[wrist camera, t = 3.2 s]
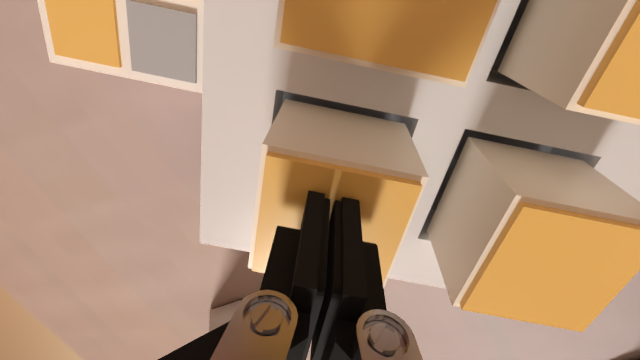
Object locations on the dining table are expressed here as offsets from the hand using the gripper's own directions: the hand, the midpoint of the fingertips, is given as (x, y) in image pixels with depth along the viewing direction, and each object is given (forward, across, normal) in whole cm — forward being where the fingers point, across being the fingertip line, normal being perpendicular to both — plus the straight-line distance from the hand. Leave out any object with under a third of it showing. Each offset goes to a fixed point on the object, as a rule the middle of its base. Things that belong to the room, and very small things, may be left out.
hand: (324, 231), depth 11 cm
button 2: (+5, -8, 0) cm, 10 cm away
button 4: (+5, 0, 0) cm, 5 cm away
